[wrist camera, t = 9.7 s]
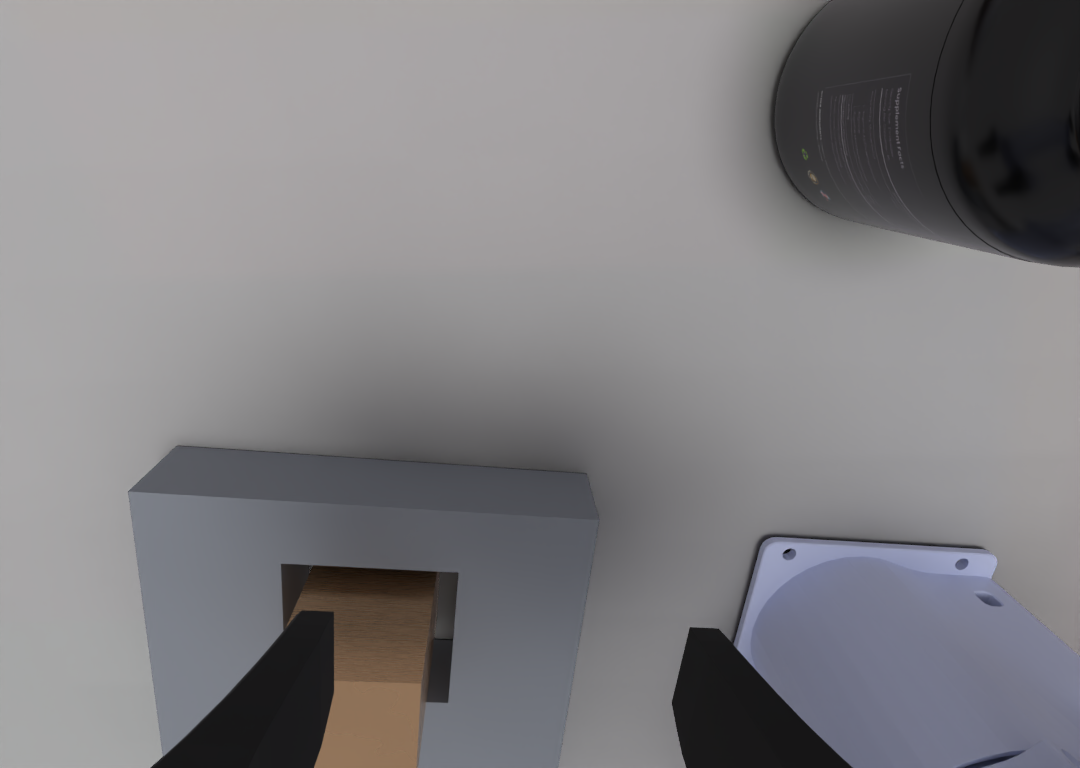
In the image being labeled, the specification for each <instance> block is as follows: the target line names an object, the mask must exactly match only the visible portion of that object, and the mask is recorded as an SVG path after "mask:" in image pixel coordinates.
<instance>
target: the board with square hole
mask: <svg viewBox="0 0 1080 768" xmlns="http://www.w3.org/2000/svg"><path fill="white" fill-rule="evenodd" d="M128 495H129V502H130V510H131V518H132V525H133V533H134V540H135V548H136V556H137V563H138V571H139V578H140V586H141V594H142V601H143V609H144V616H145V624H146V632H147V639H148V647H149V654H150V662H151V670H152V677H153V685H154V693H155V700H156V708H157V715H158V723H159V731H160V738H161V746H162V753H163V756H164V755H166V754H167V753H168V752H169V751H170V750H171V749H172V748H173V747H174V746H175V745H176V744H178V743H179V742H180V741H181V740H182V739H183V738H184V737H185V736H186V735H187V734H188V733H189V732H190V731H191V730H192V729H193V728H194V727H195V726H196V725H197V724H198V723H199V722H200V721H201V720H202V719H203V718H204V717H205V716H206V715H207V714H208V713H209V712H210V711H211V710H212V709H213V708H214V707H215V706H217V705H218V704H219V703H220V702H221V700H222V699H223V698H224V697H225V696H226V695H227V694H228V693H229V692H230V691H231V690H232V689H233V688H234V687H235V686H236V684H237V683H238V682H239V681H240V680H241V679H242V678H243V677H244V676H245V675H246V674H247V673H248V671H249V670H250V669H251V668H252V667H253V666H254V665H255V664H256V663H257V661H258V660H259V659H260V658H261V657H262V656H263V655H264V653H265V652H266V651H267V650H268V649H269V648H270V646H271V645H272V644H273V643H274V642H275V640H276V639H277V638H278V637H279V636H280V634H281V633H282V632H283V631H284V630H285V628H286V626H287V624H288V622H289V620H290V617H291V615H292V613H293V610H294V608H295V606H296V603H297V601H298V599H299V597H300V594H301V592H302V590H303V587H304V585H305V583H306V581H307V578H308V576H309V565H319V566H339V567H358V568H378V569H397V570H417V571H437V572H456V573H459V574H458V586H457V599H456V612H455V624H454V637H453V640H436V639H434V645H433V653H432V661H431V669H430V677H429V685H428V693H427V701H426V709H425V717H424V725H423V733H422V741H421V749H420V757H419V765H418V768H558V765H559V759H560V753H561V747H562V741H563V735H564V729H565V723H566V717H567V711H568V705H569V699H570V693H571V687H572V681H573V675H574V669H575V663H576V657H577V651H578V645H579V639H580V633H581V627H582V621H583V615H584V609H585V603H586V597H587V591H588V585H589V579H590V573H591V567H592V561H593V555H594V549H595V543H596V537H597V531H598V525H599V517H598V513H597V510H596V506H595V502H594V499H593V495H592V491H591V488H590V484H589V481H588V477H587V474H584V473H569V472H554V471H540V470H525V469H510V468H495V467H481V466H466V465H451V464H436V463H422V462H407V461H392V460H377V459H363V458H348V457H333V456H319V455H304V454H289V453H274V452H260V451H245V450H230V449H215V448H201V447H186V446H176V447H175V448H174V449H173V450H172V451H171V452H170V453H169V454H168V455H166V456H165V457H164V458H163V459H162V460H161V461H160V462H159V463H158V464H157V465H156V466H155V467H154V468H153V469H152V470H151V471H149V472H148V473H147V474H146V475H145V476H144V477H143V478H142V479H141V480H140V481H139V482H138V483H137V484H136V485H135V486H133V487H132V488H131V489H130V490H129V491H128Z"/></svg>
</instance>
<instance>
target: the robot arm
mask: <svg viewBox="0 0 1080 768" xmlns="http://www.w3.org/2000/svg"><path fill="white" fill-rule="evenodd" d="M787 549H791V550H790V552H788V553H786V554H783V552H784V551H785V550H787ZM958 560H960V561H959V562H957V561H958ZM956 562H957V563H956ZM996 566H997V558H996V557H995V556H994V555H993V554H992V553H990V552H989V551H988V550H984V549H969V548H952V547H935V546H919V545H902V544H885V543H868V542H851V541H835V540H818V539H801V538H784V537H772V538H769V539H767V540H765V541H764V542H763V543H762V545H761V547H760V550H759V554H758V558H757V561H756V565H755V568H754V572H753V576H752V579H751V583H750V587H749V590H748V594H747V598H746V601H745V605H744V609H743V612H742V616H741V620H740V623H739V627H738V631H737V634H736V638H735V641H734V645H733V644H732V643H731V642H730V641H729V640H728V638H727V637H726V636H725V635H724V634H723V633H722V632H721V631H720V630H719V629H714V628H691V627H690V630H689V634H688V638H687V642H686V646H685V650H684V654H683V659H682V663H681V667H680V671H679V675H678V679H677V683H676V688H675V692H674V696H673V700H672V706H673V711H674V716H675V722H676V727H677V732H678V737H679V741H680V746H681V750H682V755H683V758H684V761H685V764H686V768H1080V656H1079V655H1078V654H1077V653H1076V652H1074V651H1073V650H1072V649H1071V648H1070V647H1069V646H1068V645H1066V644H1065V643H1064V642H1063V641H1062V640H1061V639H1060V638H1058V637H1057V636H1056V635H1055V634H1054V633H1053V632H1052V631H1050V630H1049V629H1048V628H1047V627H1046V626H1045V625H1044V624H1042V623H1041V622H1040V621H1039V620H1038V619H1037V618H1036V617H1034V616H1033V615H1032V614H1031V613H1030V612H1029V611H1028V610H1026V609H1025V608H1024V607H1023V606H1022V605H1021V604H1020V603H1018V602H1017V601H1016V600H1015V599H1014V598H1013V597H1012V596H1010V595H1009V594H1008V593H1007V592H1006V591H1005V590H1004V589H1002V588H1001V587H1000V586H999V585H998V584H997V583H996V582H994V581H993V580H992V579H991V578H992V575H993V573H994V571H995V568H996ZM333 695H334V612H328V611H305V610H302V611H301V612H299V613H298V614H297V615H296V616H295V617H294V618H293V620H292V621H291V622H290V623H289V625H288V626H287V627H286V628H285V630H284V631H283V632H282V633H281V634H280V636H279V637H278V638H277V639H276V640H275V642H274V643H273V644H272V645H271V646H270V648H269V649H268V650H267V651H266V652H265V653H264V655H263V656H262V657H261V658H260V659H259V660H258V661H257V663H256V664H255V665H254V666H253V667H252V668H251V669H250V670H249V671H248V673H247V674H246V675H245V676H244V677H243V678H242V679H241V680H240V681H239V682H238V683H237V684H236V686H235V687H234V688H233V689H232V690H231V691H230V692H229V693H228V694H227V695H226V696H225V697H224V698H223V699H222V700H221V702H220V703H219V704H218V705H217V706H215V707H214V708H213V709H212V710H211V711H210V712H209V713H208V714H207V715H206V716H205V717H204V718H203V719H202V720H201V721H200V722H199V723H198V724H197V725H196V726H195V727H194V728H193V729H192V730H191V731H190V732H189V733H188V734H187V735H186V736H185V737H184V738H183V739H182V740H181V741H180V742H179V743H178V744H176V745H175V746H174V747H173V748H172V749H171V750H170V751H169V752H168V753H167V754H166V755H164V756H163V757H162V758H161V759H160V760H159V761H158V762H157V763H155V764H154V765H153V766H152V767H151V768H314V766H315V763H316V761H317V758H318V755H319V752H320V749H321V746H322V742H323V738H324V733H325V729H326V725H327V721H328V717H329V712H330V708H331V704H332V699H333Z"/></svg>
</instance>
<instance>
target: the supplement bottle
mask: <svg viewBox="0 0 1080 768" xmlns="http://www.w3.org/2000/svg"><path fill="white" fill-rule="evenodd" d="M774 122H775V136H776V142H777V147H778V151H779V154H780V158H781V160H782V163H783V165H784V168H785V170H786V172H787V173H788V175H789V177H790V179H791V180H792V182H793V183H794V185H795V186H796V187H797V189H798V190H799V191H800V192H801V193H802V194H803V195H804V196H805V197H806V198H807V199H808V200H809V201H810V202H811V203H813V204H814V205H816V206H817V207H819V208H820V209H822V210H824V211H826V212H827V213H830V214H832V215H834V216H837V217H839V218H842V219H846V220H849V221H853V222H857V223H861V224H864V225H869V226H873V227H877V228H882V229H886V230H891V231H895V232H899V233H904V234H908V235H913V236H917V237H922V238H926V239H930V240H935V241H939V242H944V243H948V244H952V245H957V246H961V247H966V248H970V249H975V250H979V251H983V252H988V253H992V254H997V255H1001V256H1006V257H1010V258H1014V259H1019V260H1023V261H1028V262H1035V263H1041V264H1047V265H1054V266H1061V267H1080V0H831V1H830V2H829V3H828V4H827V5H826V6H825V7H824V8H823V9H822V10H821V11H820V12H819V13H818V14H817V15H816V16H815V17H814V18H813V20H812V21H811V22H810V23H809V25H808V26H807V27H806V28H805V30H804V31H803V33H802V34H801V36H800V38H799V39H798V41H797V42H796V44H795V46H794V48H793V50H792V51H791V53H790V55H789V58H788V60H787V62H786V64H785V67H784V70H783V73H782V75H781V79H780V82H779V86H778V90H777V96H776V102H775V114H774Z"/></svg>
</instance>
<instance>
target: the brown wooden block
mask: <svg viewBox="0 0 1080 768" xmlns="http://www.w3.org/2000/svg"><path fill="white" fill-rule="evenodd" d="M439 578H440V572H437V571H417V570H397V569H378V568H358V567H339V566H319V565H313V567H312V569H311V571H310V574H309V576H308V578H307V581H306V583H305V585H304V587H303V590H302V592H301V594H300V597H299V599H298V601H297V603H296V606H295V608H294V610H293V613H292V615H291V617H290V620H289V622H288V624H287V626H288V625H289V623H290V622H291V621H292V620H293V618H294V617H295V616H296V615H297V614H298V613H299V612H301V611H302V610H305V611H328V612H334V695H333V699H332V704H331V708H330V712H329V717H328V721H327V725H326V729H325V733H324V738H323V742H322V746H321V749H320V752H319V755H318V758H317V761H316V763H315V766H314V768H418V765H419V757H420V749H421V741H422V733H423V725H424V717H425V709H426V701H427V693H428V685H429V677H430V669H431V661H432V653H433V645H434V637H435V629H436V621H437V608H438V593H439ZM287 626H286V627H287Z"/></svg>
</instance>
